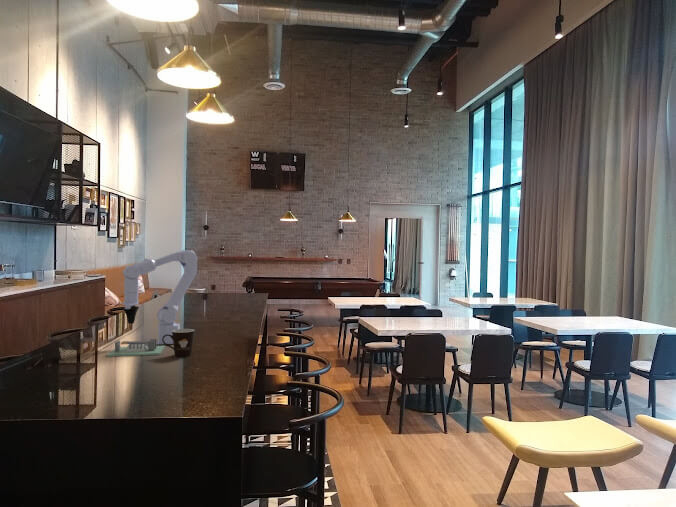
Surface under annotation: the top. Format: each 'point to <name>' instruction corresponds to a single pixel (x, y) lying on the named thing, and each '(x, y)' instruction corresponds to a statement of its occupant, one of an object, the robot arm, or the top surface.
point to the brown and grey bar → (135, 342)
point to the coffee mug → (181, 342)
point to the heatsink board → (136, 349)
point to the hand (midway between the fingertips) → (131, 323)
